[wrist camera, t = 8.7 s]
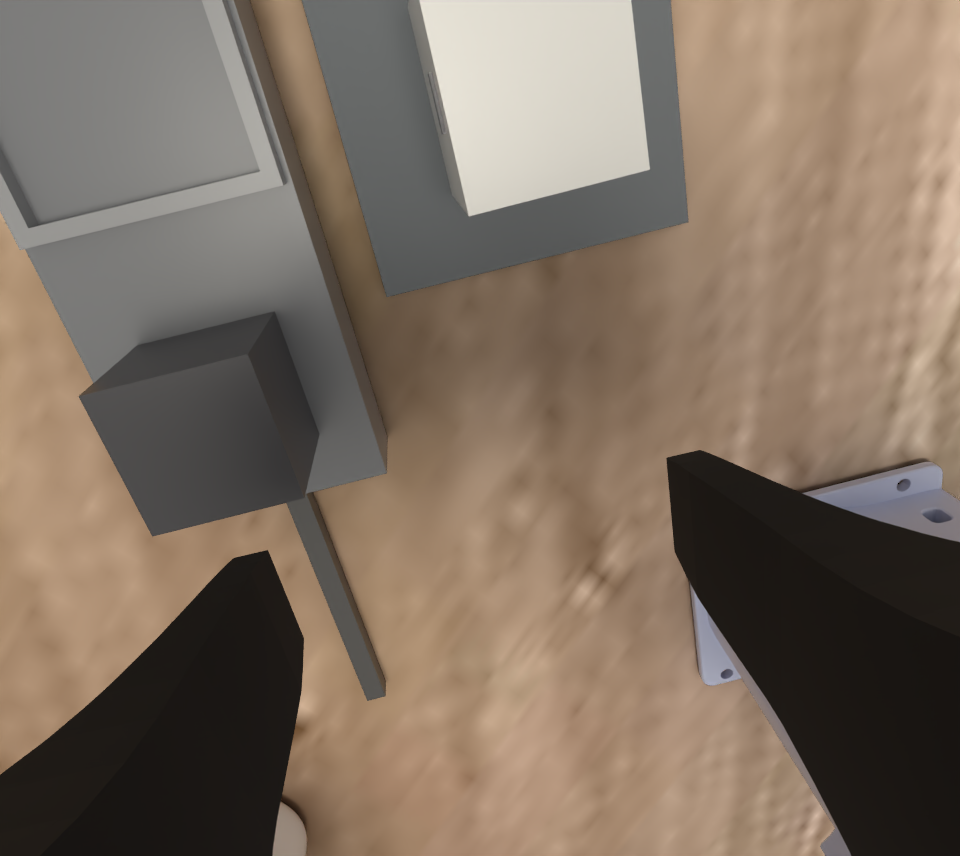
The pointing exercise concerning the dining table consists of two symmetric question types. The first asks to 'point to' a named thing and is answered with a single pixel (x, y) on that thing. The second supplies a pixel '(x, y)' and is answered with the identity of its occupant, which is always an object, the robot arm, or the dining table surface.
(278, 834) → the drinking glass
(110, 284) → the power strip
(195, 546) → the dining table surface
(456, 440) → the dining table surface
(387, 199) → the felt mat
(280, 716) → the robot arm
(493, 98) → the block
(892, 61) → the dining table surface
